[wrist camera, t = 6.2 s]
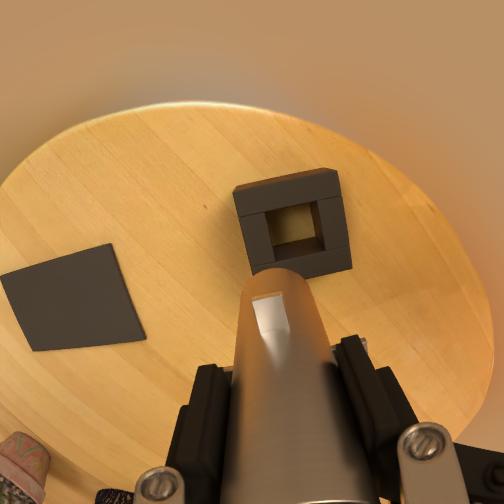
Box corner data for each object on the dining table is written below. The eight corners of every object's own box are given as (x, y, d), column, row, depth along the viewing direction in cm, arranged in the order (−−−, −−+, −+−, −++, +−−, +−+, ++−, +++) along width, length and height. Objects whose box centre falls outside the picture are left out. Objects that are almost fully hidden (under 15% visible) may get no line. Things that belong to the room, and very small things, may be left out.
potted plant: (14, 405, 42) (-47, 492, 18) (81, 471, 47) (43, 559, 23) (-15, 415, 45) (-65, 483, 21) (41, 472, 50) (6, 542, 26)
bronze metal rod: (202, 258, 16) (104, 477, 4) (324, 231, 15) (464, 421, 4) (234, 358, 17) (213, 568, 6) (340, 335, 17) (414, 536, 5)
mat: (1, 275, 34) (-1, 276, 34) (111, 242, 32) (108, 244, 32) (34, 349, 38) (32, 351, 37) (146, 337, 36) (145, 340, 35)
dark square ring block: (235, 186, 31) (232, 192, 26) (324, 167, 30) (337, 170, 25) (256, 270, 33) (256, 290, 28) (339, 252, 32) (353, 269, 28)
